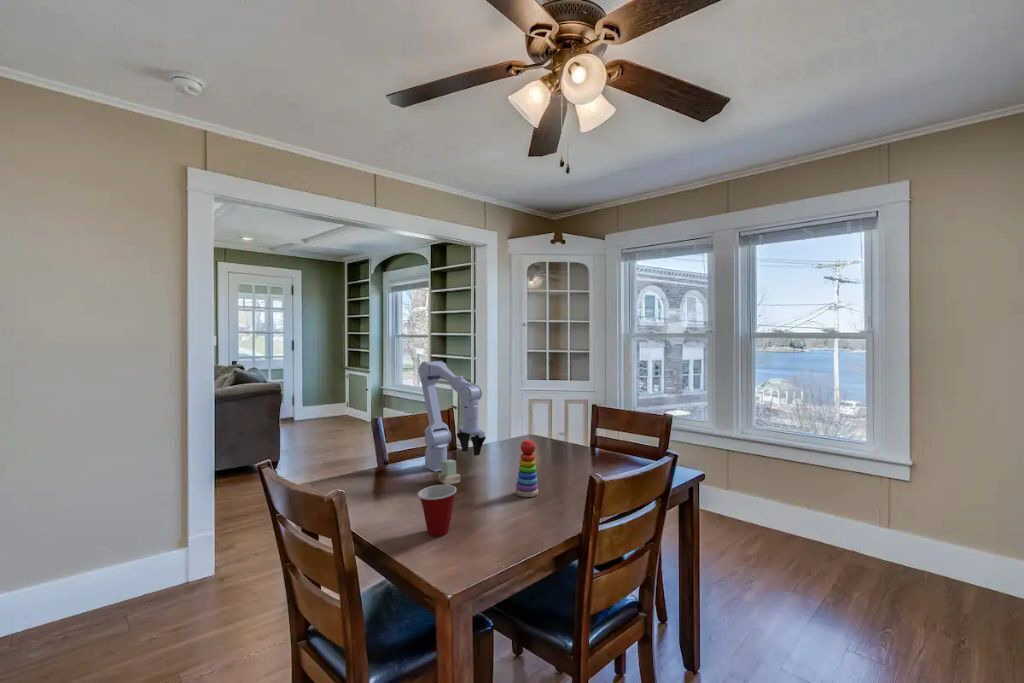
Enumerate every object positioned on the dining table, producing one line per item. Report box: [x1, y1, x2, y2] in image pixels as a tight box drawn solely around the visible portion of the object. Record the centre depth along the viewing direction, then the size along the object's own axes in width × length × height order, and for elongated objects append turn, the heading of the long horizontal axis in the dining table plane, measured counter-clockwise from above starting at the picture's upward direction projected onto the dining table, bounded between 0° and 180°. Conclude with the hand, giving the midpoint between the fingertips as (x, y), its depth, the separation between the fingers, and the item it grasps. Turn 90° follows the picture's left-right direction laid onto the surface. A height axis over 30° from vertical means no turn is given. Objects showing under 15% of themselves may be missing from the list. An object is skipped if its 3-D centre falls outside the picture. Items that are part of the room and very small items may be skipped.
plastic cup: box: [417, 484, 457, 538], centre depth 130 cm, size 11×11×12 cm
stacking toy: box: [515, 439, 540, 498], centre depth 160 cm, size 8×8×19 cm
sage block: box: [440, 458, 457, 477], centre depth 174 cm, size 4×4×5 cm
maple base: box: [437, 472, 461, 485], centre depth 174 cm, size 6×6×3 cm
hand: (470, 453), depth 177 cm, fingers open, 7 cm apart
